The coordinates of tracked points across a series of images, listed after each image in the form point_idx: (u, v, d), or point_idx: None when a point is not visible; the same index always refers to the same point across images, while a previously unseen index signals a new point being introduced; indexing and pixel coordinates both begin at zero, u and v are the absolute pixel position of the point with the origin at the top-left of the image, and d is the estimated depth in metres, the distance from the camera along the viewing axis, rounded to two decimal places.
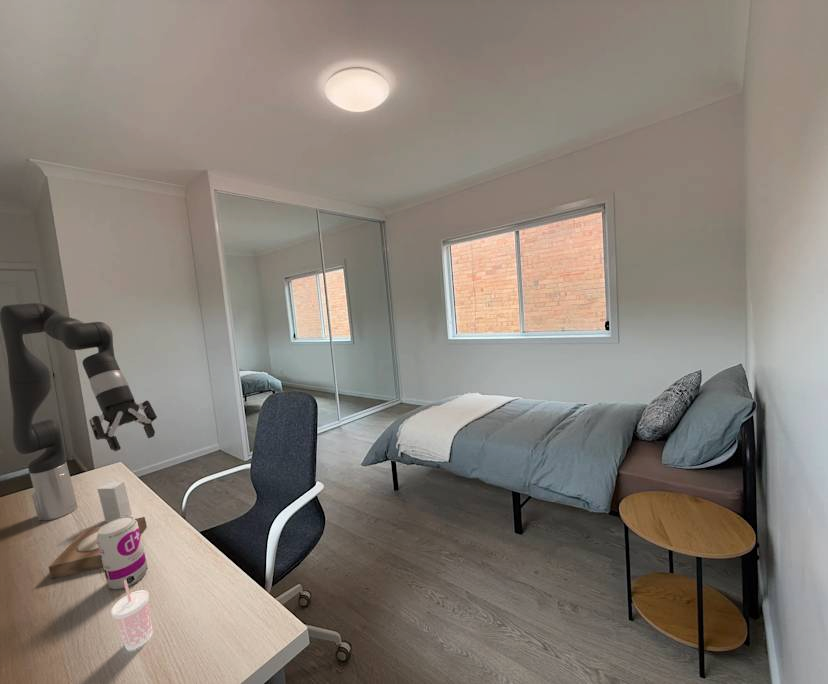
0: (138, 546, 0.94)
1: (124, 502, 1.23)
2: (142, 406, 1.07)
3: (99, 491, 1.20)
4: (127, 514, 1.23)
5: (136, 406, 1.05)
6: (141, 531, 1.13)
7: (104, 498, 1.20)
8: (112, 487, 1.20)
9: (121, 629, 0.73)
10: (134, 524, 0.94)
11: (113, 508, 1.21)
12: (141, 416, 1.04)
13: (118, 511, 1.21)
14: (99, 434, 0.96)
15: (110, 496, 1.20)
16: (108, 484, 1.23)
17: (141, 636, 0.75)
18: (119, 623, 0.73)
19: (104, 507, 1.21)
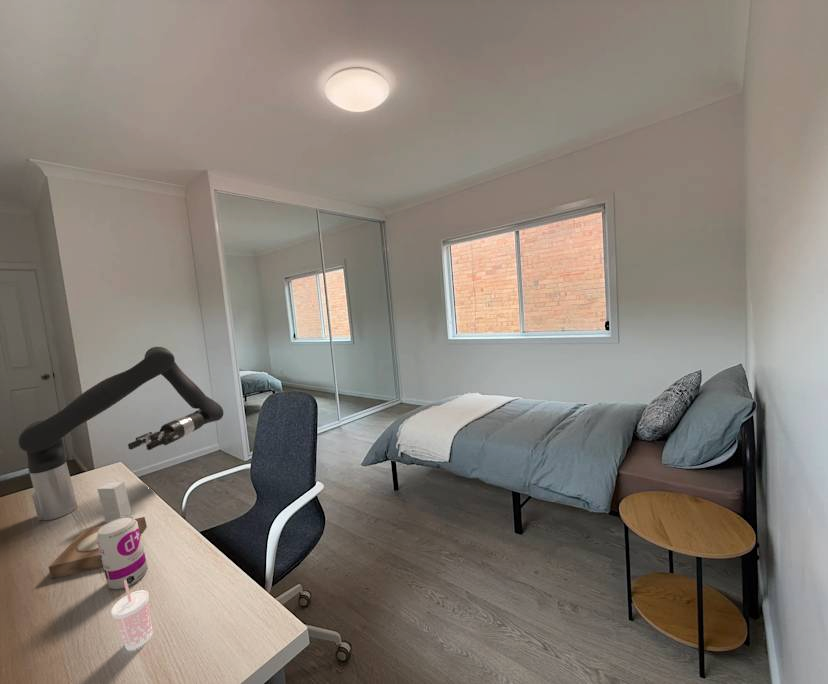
0: (138, 546, 0.94)
1: (124, 502, 1.23)
2: None
3: (99, 491, 1.20)
4: (127, 514, 1.23)
5: None
6: (141, 531, 1.13)
7: (104, 498, 1.20)
8: (112, 487, 1.20)
9: (121, 629, 0.73)
10: (134, 524, 0.94)
11: (113, 508, 1.21)
12: None
13: (118, 511, 1.21)
14: (167, 443, 1.34)
15: (110, 496, 1.20)
16: (108, 484, 1.23)
17: (141, 636, 0.75)
18: (119, 623, 0.73)
19: (104, 507, 1.21)
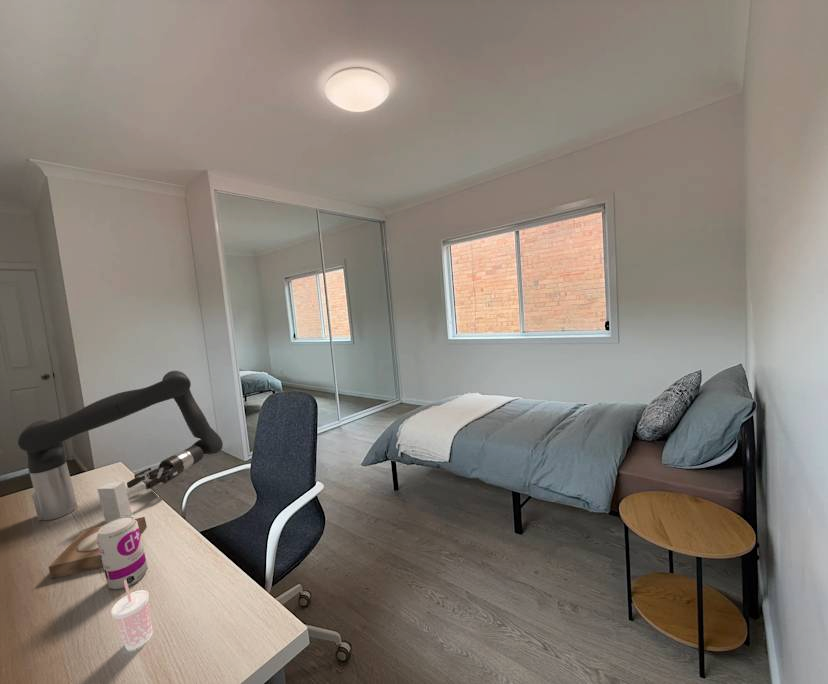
0: (138, 546, 0.94)
1: (124, 502, 1.23)
2: None
3: (99, 491, 1.20)
4: (127, 514, 1.23)
5: None
6: (141, 531, 1.13)
7: (104, 498, 1.20)
8: (112, 487, 1.20)
9: (121, 629, 0.73)
10: (134, 524, 0.94)
11: (113, 508, 1.21)
12: None
13: (118, 511, 1.21)
14: (167, 481, 1.34)
15: (110, 496, 1.20)
16: (108, 484, 1.23)
17: (141, 636, 0.75)
18: (119, 623, 0.73)
19: (104, 507, 1.21)
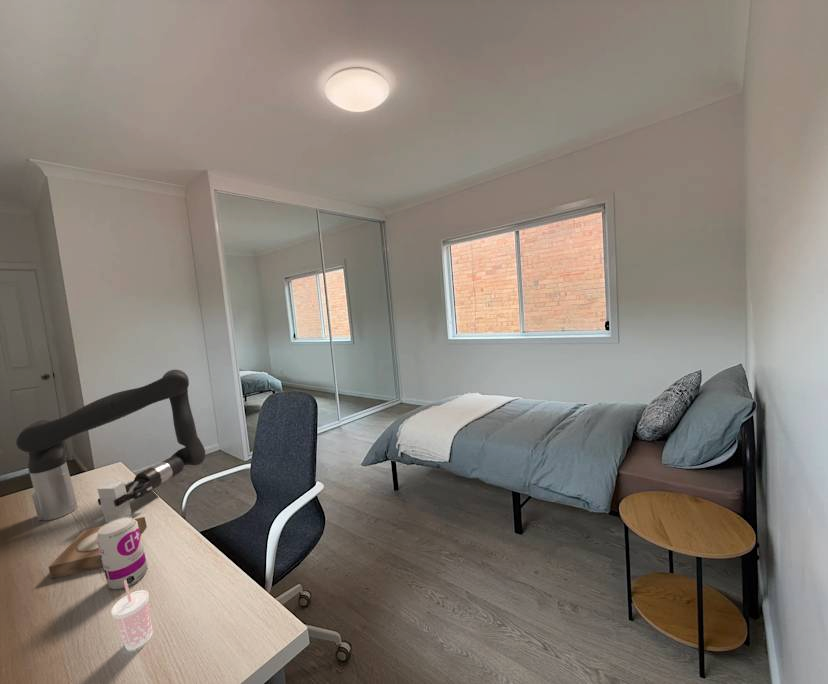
0: (138, 546, 0.94)
1: (124, 502, 1.23)
2: None
3: (99, 491, 1.20)
4: (127, 514, 1.23)
5: None
6: (141, 531, 1.13)
7: (104, 498, 1.20)
8: (112, 487, 1.20)
9: (121, 629, 0.73)
10: (134, 524, 0.94)
11: (112, 508, 1.21)
12: None
13: (117, 511, 1.21)
14: None
15: (110, 496, 1.20)
16: (108, 484, 1.23)
17: (141, 636, 0.75)
18: (119, 623, 0.73)
19: (103, 507, 1.21)
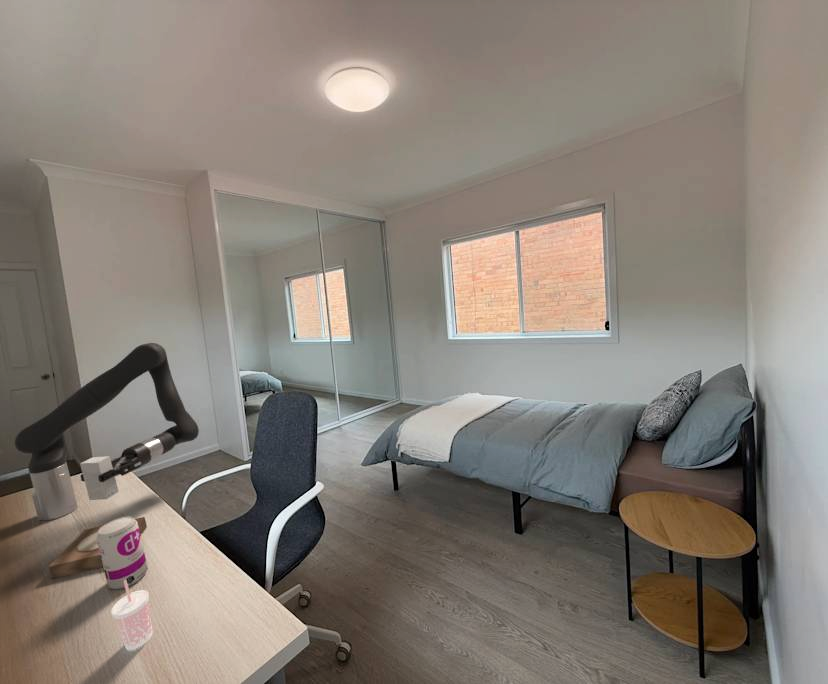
0: (138, 546, 0.94)
1: (110, 478, 1.12)
2: None
3: (82, 466, 1.10)
4: (113, 491, 1.13)
5: None
6: (141, 531, 1.13)
7: (87, 473, 1.10)
8: (96, 461, 1.10)
9: (121, 629, 0.73)
10: (134, 524, 0.94)
11: (97, 484, 1.10)
12: None
13: (103, 487, 1.10)
14: (125, 473, 1.14)
15: (94, 471, 1.10)
16: (92, 458, 1.12)
17: (141, 636, 0.75)
18: (119, 623, 0.73)
19: (87, 483, 1.10)
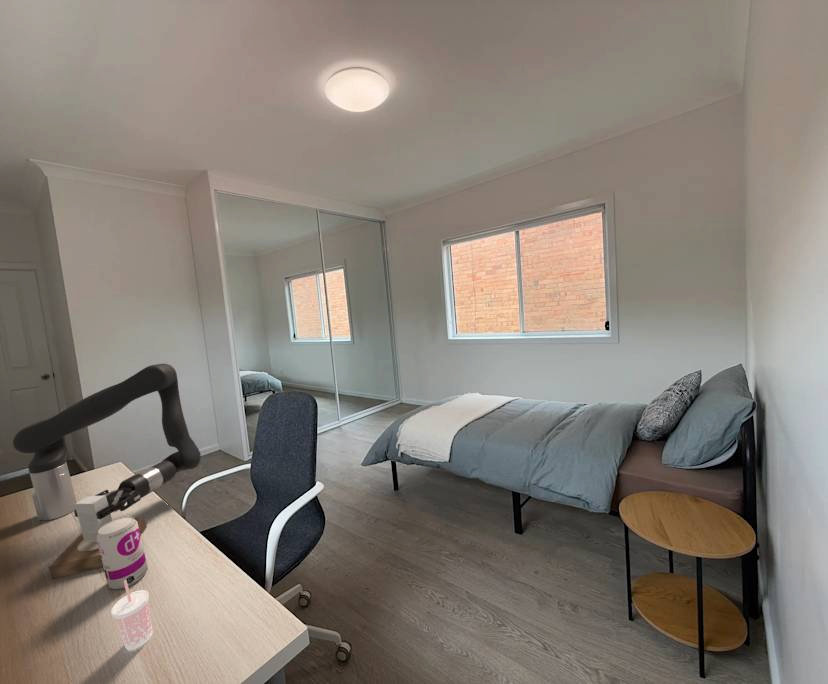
0: (138, 546, 0.94)
1: (106, 519, 1.06)
2: None
3: (76, 506, 1.04)
4: None
5: None
6: (141, 531, 1.13)
7: (82, 515, 1.04)
8: (91, 502, 1.03)
9: (121, 629, 0.73)
10: (134, 524, 0.94)
11: (92, 526, 1.04)
12: None
13: (98, 529, 1.04)
14: (125, 509, 1.07)
15: (89, 513, 1.03)
16: (88, 498, 1.06)
17: (141, 636, 0.75)
18: (119, 623, 0.73)
19: (82, 525, 1.04)
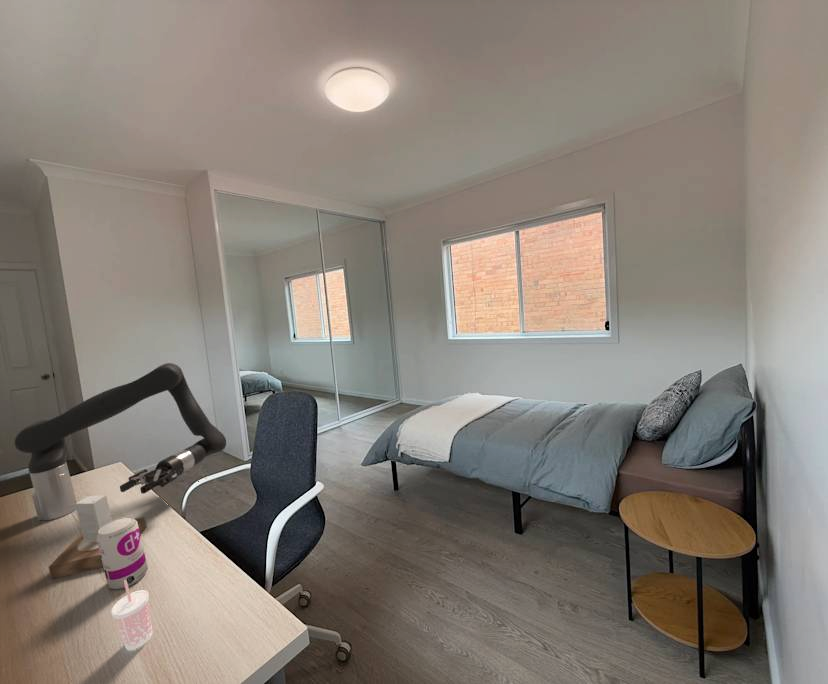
0: (138, 546, 0.94)
1: (106, 519, 1.06)
2: None
3: (77, 506, 1.04)
4: None
5: None
6: (141, 531, 1.13)
7: (82, 514, 1.04)
8: (91, 502, 1.04)
9: (121, 629, 0.73)
10: (134, 524, 0.94)
11: (92, 526, 1.04)
12: None
13: (98, 529, 1.04)
14: (164, 485, 1.19)
15: (89, 513, 1.03)
16: (88, 498, 1.06)
17: (141, 636, 0.75)
18: (119, 623, 0.73)
19: (82, 525, 1.04)
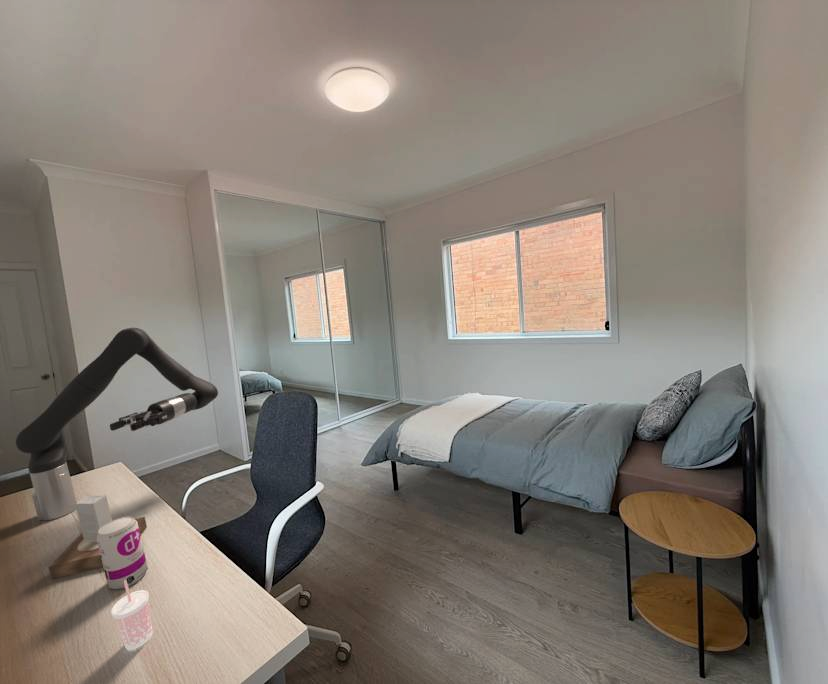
0: (138, 546, 0.94)
1: (106, 519, 1.06)
2: None
3: (77, 506, 1.04)
4: None
5: None
6: (141, 531, 1.13)
7: (82, 514, 1.04)
8: (91, 502, 1.04)
9: (121, 629, 0.73)
10: (134, 524, 0.94)
11: (92, 526, 1.04)
12: None
13: (98, 529, 1.04)
14: (155, 424, 1.19)
15: (89, 513, 1.03)
16: (88, 498, 1.06)
17: (141, 636, 0.75)
18: (119, 623, 0.73)
19: (82, 525, 1.04)
